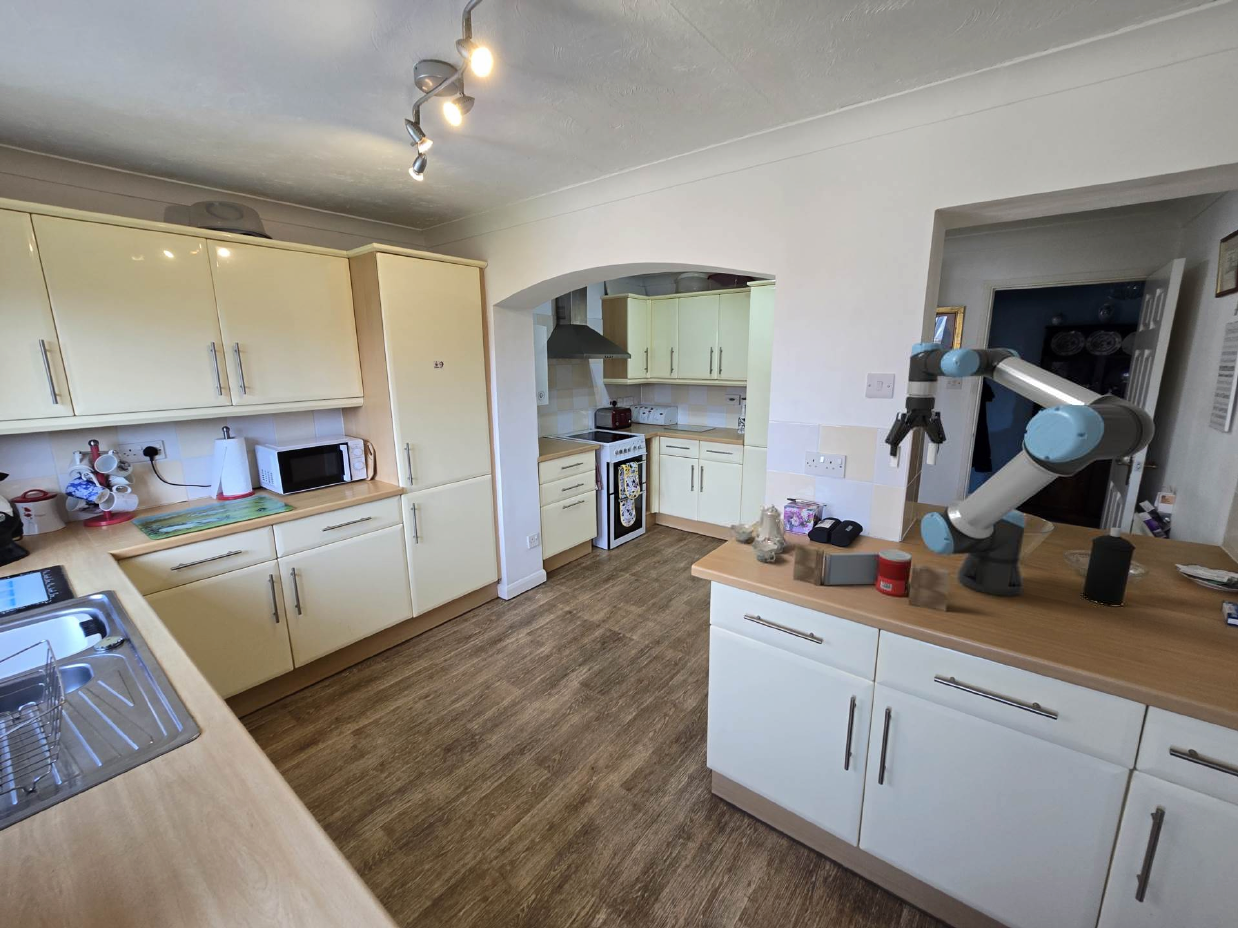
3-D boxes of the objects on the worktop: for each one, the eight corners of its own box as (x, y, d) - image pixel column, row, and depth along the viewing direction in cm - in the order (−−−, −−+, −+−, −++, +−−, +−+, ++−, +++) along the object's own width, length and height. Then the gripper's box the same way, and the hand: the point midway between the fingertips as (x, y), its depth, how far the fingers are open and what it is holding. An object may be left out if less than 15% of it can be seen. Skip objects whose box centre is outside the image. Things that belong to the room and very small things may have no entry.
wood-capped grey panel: (945, 607, 130) (950, 570, 128) (945, 612, 127) (950, 574, 125) (795, 576, 149) (797, 543, 147) (792, 580, 147) (795, 546, 145)
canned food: (912, 598, 135) (916, 560, 133) (880, 596, 136) (884, 558, 134) (901, 585, 143) (905, 549, 140) (871, 584, 144) (875, 548, 142)
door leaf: (893, 580, 145) (896, 551, 143) (896, 583, 143) (900, 554, 141) (821, 582, 144) (824, 553, 142) (824, 585, 142) (826, 555, 141)
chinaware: (722, 542, 183) (719, 499, 179) (762, 533, 186) (760, 491, 183) (762, 572, 156) (760, 523, 152) (809, 561, 160) (807, 513, 156)
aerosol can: (1109, 608, 128) (1124, 535, 124) (1073, 594, 136) (1086, 525, 132) (1131, 604, 131) (1147, 532, 127) (1094, 590, 138) (1108, 522, 134)
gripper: (943, 394, 155) (935, 460, 159) (876, 396, 149) (869, 465, 153) (965, 395, 148) (956, 465, 152) (895, 398, 142) (888, 470, 146)
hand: (912, 465), depth 153 cm, fingers open, 13 cm apart
